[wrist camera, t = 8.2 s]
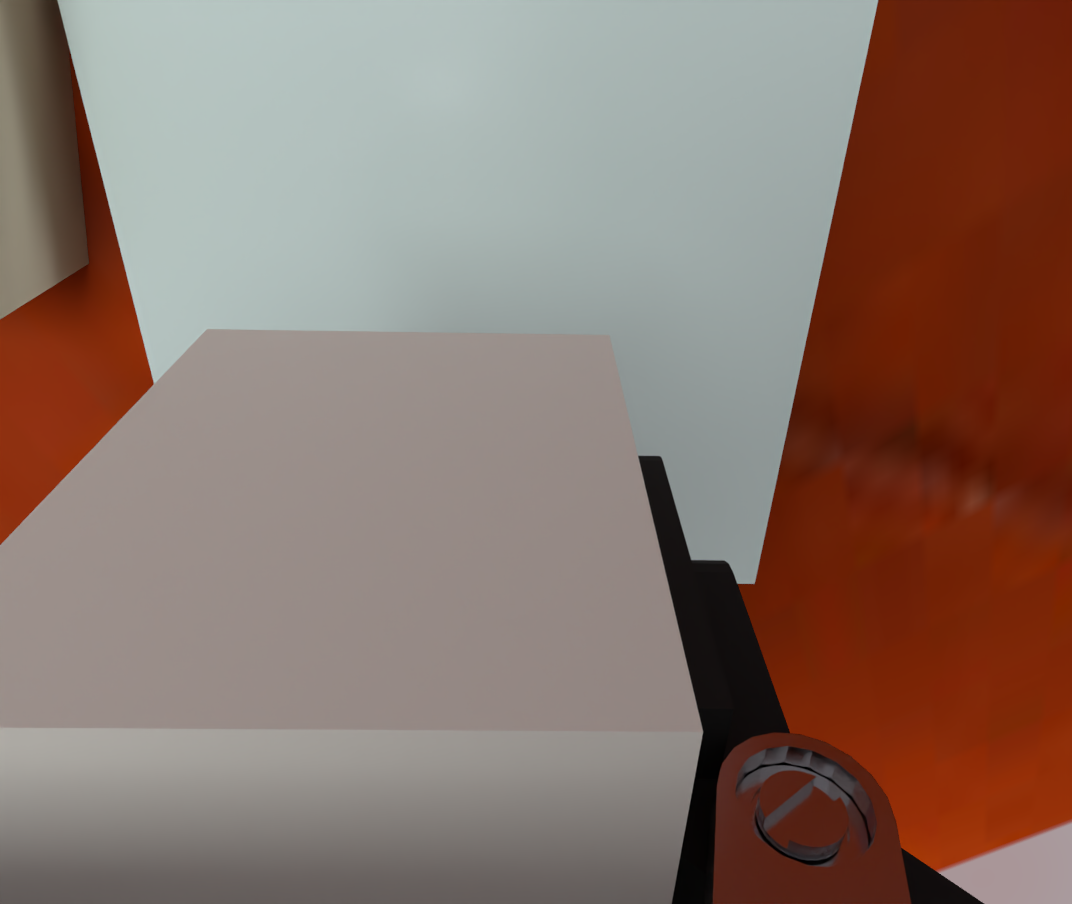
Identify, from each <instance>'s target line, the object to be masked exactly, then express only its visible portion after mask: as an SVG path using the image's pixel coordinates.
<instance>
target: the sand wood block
mask: <svg viewBox="0 0 1072 904" xmlns="http://www.w3.org/2000/svg"><path fill="white" fill-rule="evenodd" d="M87 264H89V259H88V248H87V237H86V227H85V216H84V206H83V195H82V185H81V174H80V164H79V153H78V143H77V132H76V122H75V111H74V101H73V90H72V80H71V69H70V59H69V48H68V40H67V36H66V32H65V28H64V24H63V20H62V17H61V13H60V9H59V5H58V1H57V0H0V319H1V318H3V317H5V316H6V315H8V314H9V313H11V312H13V311H14V310H16V309H17V308H19V307H20V306H22V305H24V304H25V303H27V302H28V301H30V300H32V299H33V298H35V297H36V296H38V295H40V294H41V293H43V292H44V291H46V290H48V289H49V288H51V287H52V286H54V285H56V284H57V283H59V282H60V281H62V280H64V279H65V278H67V277H68V276H70V275H72V274H73V273H75V272H76V271H78V270H80V269H81V268H83V267H84V266H86V265H87Z"/></svg>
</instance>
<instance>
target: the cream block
mask: <svg viewBox="0 0 1072 904" xmlns="http://www.w3.org/2000/svg"><path fill="white" fill-rule="evenodd" d="M702 735H703V729H702V725H701V721H700V717H699V712H698V708H697V704H696V700H695V695H694V691H693V687H692V683H691V679H690V674H689V670H688V666H687V662H686V657H685V653H684V649H683V645H682V640H681V636H680V632H679V628H678V623H677V619H676V615H675V611H674V606H673V602H672V598H671V594H670V589H669V585H668V581H667V577H666V573H665V568H664V564H663V560H662V556H661V551H660V547H659V543H658V539H657V534H656V530H655V526H654V522H653V517H652V513H651V509H650V505H649V500H648V496H647V492H646V488H645V483H644V479H643V475H642V471H641V467H640V462H639V458H638V454H637V450H636V445H635V441H634V437H633V433H632V428H631V424H630V420H629V416H628V411H627V407H626V403H625V399H624V394H623V390H622V386H621V382H620V377H619V373H618V369H617V365H616V361H615V356H614V352H613V348H612V344H611V339H610V335H579V334H510V333H440V332H370V331H301V330H231V329H207V330H206V331H205V332H204V333H203V334H202V335H201V336H200V337H199V338H198V339H197V340H196V341H195V342H194V343H193V344H192V345H191V346H190V347H189V348H188V349H187V350H186V351H185V353H184V354H183V355H182V356H181V357H180V358H179V359H178V360H177V361H176V362H175V363H174V364H173V365H172V366H171V367H170V368H169V369H168V370H167V371H166V372H165V373H164V375H163V376H162V377H161V378H160V379H159V380H158V381H157V382H156V383H155V384H154V385H153V386H152V387H151V388H150V389H149V390H148V391H147V392H146V393H145V394H144V395H143V396H142V398H141V399H140V400H139V401H138V402H137V403H136V404H135V405H134V406H133V407H132V408H131V409H130V410H129V411H128V412H127V413H126V414H125V415H124V416H123V417H122V418H121V419H120V421H119V422H118V423H117V424H116V425H115V426H114V427H113V428H112V429H111V430H110V431H109V432H108V433H107V434H106V435H105V436H104V437H103V438H102V439H101V440H100V441H99V442H98V444H97V445H96V446H95V447H94V448H93V449H92V450H91V451H90V452H89V453H88V454H87V455H86V456H85V457H84V458H83V459H82V460H81V461H80V462H79V463H78V464H77V465H76V467H75V468H74V469H73V470H72V471H71V472H70V473H69V474H68V475H67V476H66V477H65V478H64V479H63V480H62V481H61V482H60V483H59V484H58V485H57V486H56V487H55V489H54V490H53V491H52V492H51V493H50V494H49V495H48V496H47V497H46V498H45V499H44V500H43V501H42V502H41V503H40V504H39V505H38V506H37V507H36V508H35V509H34V510H33V512H32V513H31V514H30V515H29V516H28V517H27V518H26V519H25V520H24V521H23V522H22V523H21V524H20V525H19V526H18V527H17V528H16V529H15V530H14V531H13V532H12V533H11V535H10V536H9V537H8V538H7V539H6V540H5V541H4V542H3V543H2V544H1V545H0V904H672V898H673V893H674V888H675V882H676V877H677V871H678V866H679V860H680V855H681V849H682V844H683V839H684V833H685V828H686V822H687V817H688V811H689V806H690V801H691V795H692V790H693V784H694V779H695V773H696V768H697V763H698V757H699V752H700V746H701V741H702Z"/></svg>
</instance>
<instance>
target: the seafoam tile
mask: <svg viewBox="0 0 1072 904" xmlns="http://www.w3.org/2000/svg"><path fill="white" fill-rule="evenodd" d="M57 1H58V5H59V9H60V13H61V17H62V20H63V24H64V28H65V32H66V36H67V40H68V44H69V48H70V52H71V56H72V60H73V64H74V68H75V72H76V76H77V80H78V84H79V88H80V92H81V96H82V100H83V104H84V108H85V112H86V116H87V120H88V124H89V128H90V131H91V135H92V139H93V143H94V147H95V151H96V155H97V159H98V163H99V167H100V171H101V175H102V179H103V183H104V187H105V191H106V195H107V199H108V203H109V207H110V211H111V215H112V219H113V223H114V227H115V231H116V235H117V238H118V242H119V246H120V250H121V254H122V258H123V262H124V266H125V270H126V274H127V278H128V282H129V286H130V290H131V294H132V298H133V302H134V306H135V310H136V314H137V318H138V322H139V326H140V330H141V334H142V338H143V342H144V345H145V349H146V353H147V357H148V361H149V365H150V369H151V373H152V377H153V381H154V384H155V383H156V382H157V381H158V380H159V379H160V378H161V377H162V376H163V375H164V373H165V372H166V371H167V370H168V369H169V368H170V367H171V366H172V365H173V364H174V363H175V362H176V361H177V360H178V359H179V358H180V357H181V356H182V355H183V354H184V353H185V351H186V350H187V349H188V348H189V347H190V346H191V345H192V344H193V343H194V342H195V341H196V340H197V339H198V338H199V337H200V336H201V335H202V334H203V333H204V332H205V331H206V330H207V329H231V330H301V331H370V332H440V333H510V334H579V335H610V339H611V344H612V348H613V352H614V356H615V361H616V365H617V369H618V373H619V377H620V382H621V386H622V390H623V394H624V399H625V403H626V407H627V411H628V416H629V420H630V424H631V428H632V433H633V437H634V441H635V445H636V450H637V454H638V456H661V458H662V460H663V463H664V467H665V470H666V474H667V477H668V481H669V484H670V488H671V491H672V495H673V498H674V502H675V505H676V509H677V512H678V516H679V519H680V523H681V526H682V529H683V533H684V536H685V540H686V543H687V547H688V550H689V554H690V557H691V560H725V561H726V562H727V563H729V565H730V567H731V569H732V571H733V573H734V576H735V579H736V582H737V584H755V580H756V575H757V571H758V566H759V561H760V556H761V552H762V547H763V542H764V537H765V533H766V528H767V523H768V519H769V514H770V509H771V504H772V500H773V495H774V490H775V485H776V481H777V476H778V471H779V467H780V462H781V457H782V452H783V448H784V443H785V438H786V433H787V429H788V424H789V419H790V415H791V410H792V405H793V400H794V396H795V391H796V386H797V381H798V377H799V372H800V367H801V363H802V358H803V353H804V348H805V344H806V339H807V334H808V330H809V325H810V320H811V315H812V311H813V306H814V301H815V296H816V292H817V287H818V282H819V278H820V273H821V268H822V263H823V259H824V254H825V249H826V244H827V240H828V235H829V230H830V226H831V221H832V216H833V211H834V207H835V202H836V197H837V192H838V188H839V183H840V178H841V174H842V169H843V164H844V159H845V155H846V150H847V145H848V140H849V136H850V131H851V126H852V122H853V117H854V112H855V107H856V103H857V98H858V93H859V89H860V84H861V79H862V74H863V70H864V65H865V60H866V55H867V51H868V46H869V41H870V37H871V32H872V27H873V22H874V18H875V13H876V8H877V3H878V0H57Z"/></svg>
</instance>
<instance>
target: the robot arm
mask: <svg viewBox="0 0 1072 904" xmlns="http://www.w3.org/2000/svg"><path fill="white" fill-rule="evenodd" d="M638 458H639V462H640V467H641V471H642V475H643V479H644V483H645V488H646V492H647V496H648V500H649V505H650V509H651V513H652V517H653V522H654V526H655V530H656V534H657V539H658V543H659V547H660V551H661V556H662V560H663V564H664V568H665V573H666V577H667V581H668V585H669V589H670V594H671V598H672V602H673V606H674V611H675V615H676V619H677V623H678V628H679V632H680V636H681V640H682V645H683V649H684V653H685V657H686V662H687V666H688V670H689V674H690V679H691V683H692V687H693V691H694V695H695V700H696V704H697V708H698V712H699V717H700V721H701V725H702V729H703V735H702V741H701V746H700V752H699V757H698V763H697V768H696V773H695V779H694V784H693V790H692V795H691V801H690V806H689V811H688V817H687V822H686V828H685V833H684V839H683V844H682V849H681V855H680V860H679V866H678V871H677V877H676V882H675V888H674V893H673V898H672V904H984V903H982V902H981V901H979V900H978V899H976V898H975V897H973V896H972V895H970V894H969V893H967V892H966V891H964V890H963V889H961V888H960V887H959V886H957V885H955V884H954V883H953V882H951V881H950V880H948V879H947V878H945V877H944V876H942V875H941V874H939V873H938V872H936V871H935V870H933V869H932V868H930V867H929V866H927V865H926V864H924V863H923V862H921V861H920V860H918V859H917V858H916V857H914V856H913V855H911V854H910V853H908V852H907V851H905V850H904V849H902V848H901V846H900V840H899V835H898V829H897V824H896V820H895V817H894V814H893V811H892V809H891V806H890V803H889V800H888V797H887V796H886V794H885V793H884V792H883V790H882V789H881V787H880V786H879V785H878V783H877V782H876V780H875V779H874V778H873V776H872V775H871V774H870V773H869V772H868V771H867V770H866V769H864V768H863V767H862V766H861V765H860V764H859V763H858V762H856V761H855V760H854V759H853V758H852V757H851V756H849V755H848V754H846V753H844V752H842V751H840V750H839V749H837V748H835V747H833V746H831V745H830V744H828V743H826V742H823V741H820V740H817V739H814V738H810V737H807V736H804V735H801V734H790V732H789V729H788V726H787V723H786V720H785V718H784V715H783V712H782V709H781V706H780V703H779V701H778V698H777V695H776V692H775V689H774V686H773V684H772V681H771V678H770V675H769V672H768V669H767V667H766V664H765V661H764V658H763V655H762V652H761V650H760V647H759V644H758V641H757V638H756V635H755V633H754V630H753V627H752V624H751V621H750V618H749V616H748V613H747V610H746V607H745V604H744V601H743V599H742V596H741V593H740V590H739V587H738V584H737V582H736V579H735V576H734V573H733V571H732V569H731V567H730V565H729V563H727V562H726V561H725V560H691V557H690V554H689V550H688V547H687V543H686V540H685V536H684V533H683V529H682V526H681V523H680V519H679V516H678V512H677V509H676V505H675V502H674V498H673V495H672V491H671V488H670V484H669V481H668V477H667V474H666V470H665V467H664V463H663V460H662V458H661V456H638Z"/></svg>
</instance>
